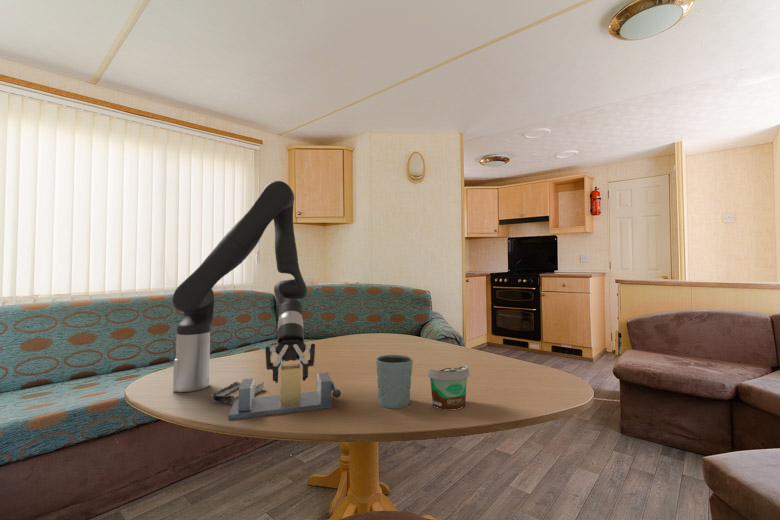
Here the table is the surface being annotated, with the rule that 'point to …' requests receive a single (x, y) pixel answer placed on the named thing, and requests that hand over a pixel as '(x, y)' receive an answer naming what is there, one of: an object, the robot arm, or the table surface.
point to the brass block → (290, 383)
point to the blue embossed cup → (394, 380)
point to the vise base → (307, 402)
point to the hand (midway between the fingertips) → (290, 380)
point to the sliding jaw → (246, 395)
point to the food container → (449, 387)
